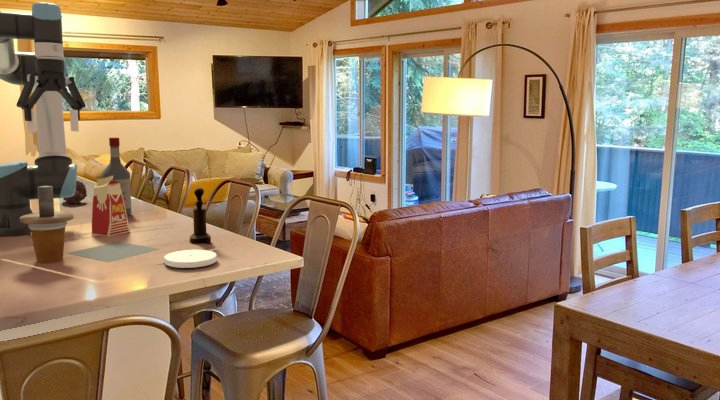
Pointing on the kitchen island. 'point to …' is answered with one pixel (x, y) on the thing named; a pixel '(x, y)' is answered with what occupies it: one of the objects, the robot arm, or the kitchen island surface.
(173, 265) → the plastic lid
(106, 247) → the slate mat
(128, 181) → the liquor
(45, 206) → the wooden lid with knob
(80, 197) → the pine cone
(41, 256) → the disposable coffee cup
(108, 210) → the milk carton
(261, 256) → the kitchen island surface
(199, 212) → the black pedestal statuette
